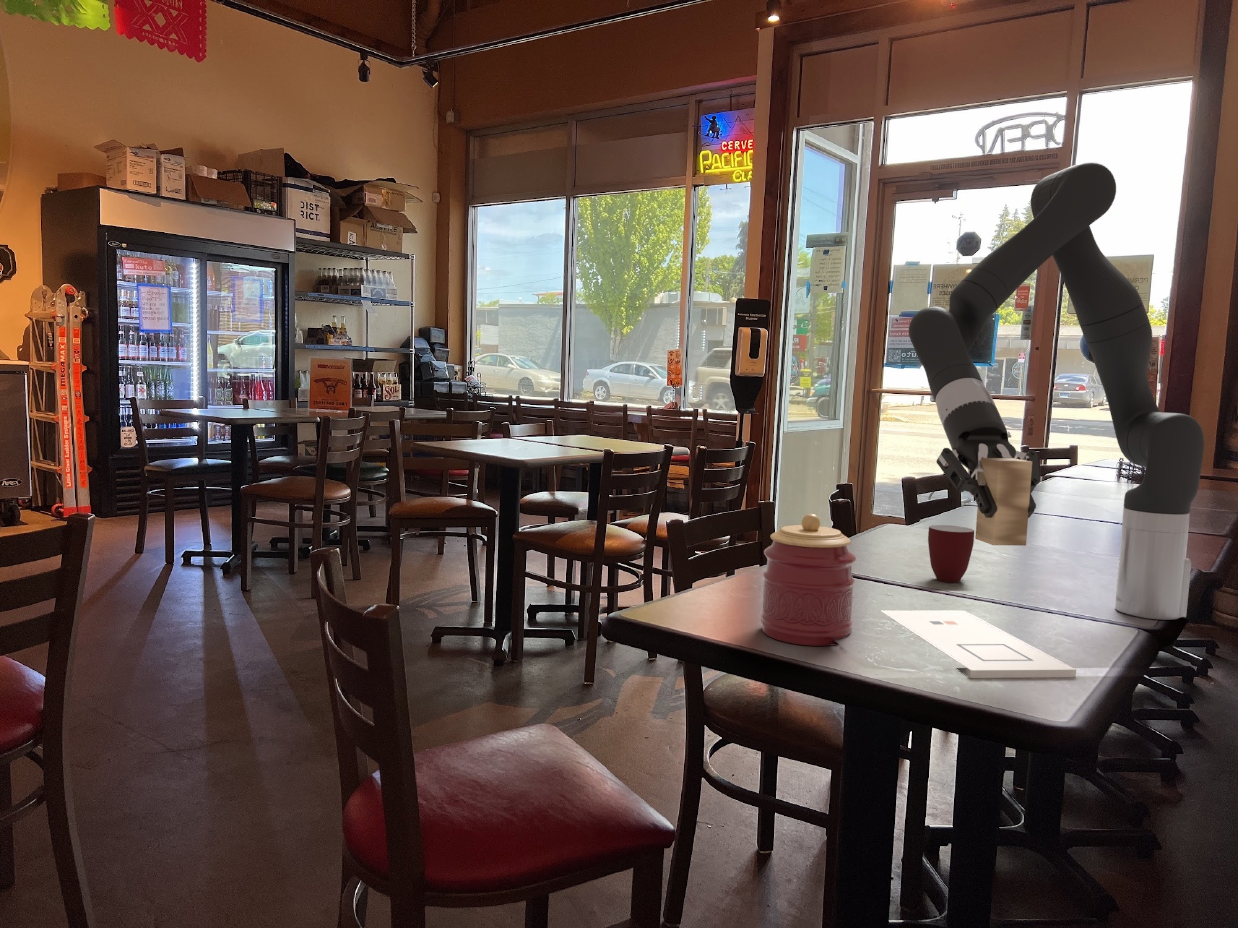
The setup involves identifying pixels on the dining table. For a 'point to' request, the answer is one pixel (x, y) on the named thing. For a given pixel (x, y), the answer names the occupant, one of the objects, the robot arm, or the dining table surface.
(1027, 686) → the dining table surface
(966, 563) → the mug
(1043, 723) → the dining table surface
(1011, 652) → the board
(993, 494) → the oak block
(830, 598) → the canister
